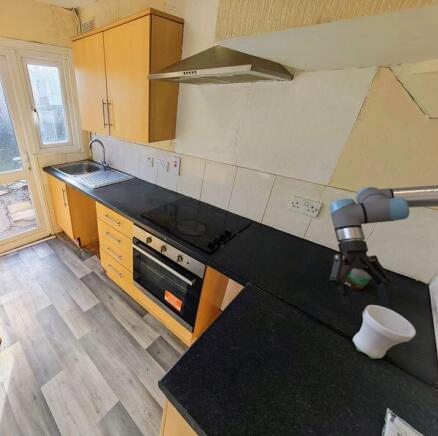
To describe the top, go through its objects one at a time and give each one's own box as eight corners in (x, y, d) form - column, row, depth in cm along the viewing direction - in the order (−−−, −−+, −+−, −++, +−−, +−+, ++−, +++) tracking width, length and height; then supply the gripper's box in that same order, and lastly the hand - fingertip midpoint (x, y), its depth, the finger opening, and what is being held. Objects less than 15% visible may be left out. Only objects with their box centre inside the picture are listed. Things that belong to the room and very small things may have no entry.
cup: (376, 339, 77) (400, 310, 71) (397, 371, 68) (427, 342, 61) (339, 329, 80) (358, 300, 74) (353, 359, 71) (377, 329, 64)
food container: (353, 294, 96) (365, 276, 92) (339, 283, 101) (349, 266, 97) (373, 289, 99) (386, 271, 95) (359, 279, 105) (370, 262, 100)
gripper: (373, 244, 84) (390, 305, 78) (309, 242, 83) (321, 304, 77) (395, 240, 77) (416, 306, 71) (326, 238, 76) (341, 305, 70)
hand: (367, 305), depth 74 cm, fingers open, 13 cm apart
